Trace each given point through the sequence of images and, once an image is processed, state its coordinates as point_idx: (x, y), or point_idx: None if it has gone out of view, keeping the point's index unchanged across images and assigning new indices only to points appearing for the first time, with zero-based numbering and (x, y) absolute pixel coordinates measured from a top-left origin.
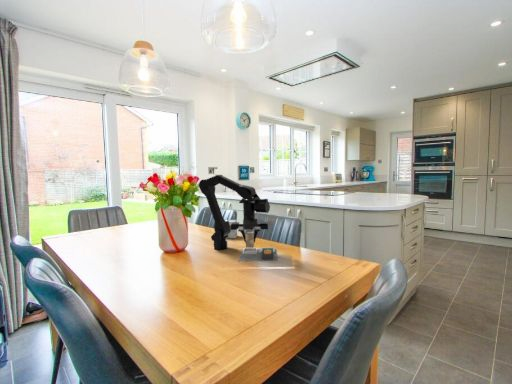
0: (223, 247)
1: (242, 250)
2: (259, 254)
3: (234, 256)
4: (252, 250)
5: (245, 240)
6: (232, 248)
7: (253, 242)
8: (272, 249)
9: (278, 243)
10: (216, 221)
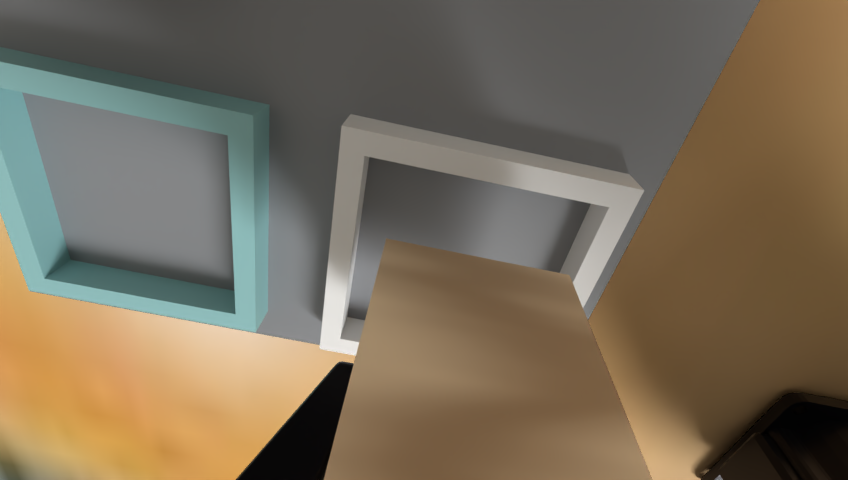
0: (834, 465)
1: None
2: (299, 72)
3: (753, 182)
4: None
5: None
6: None
7: (371, 323)
8: (77, 265)
9: (92, 477)
10: None
